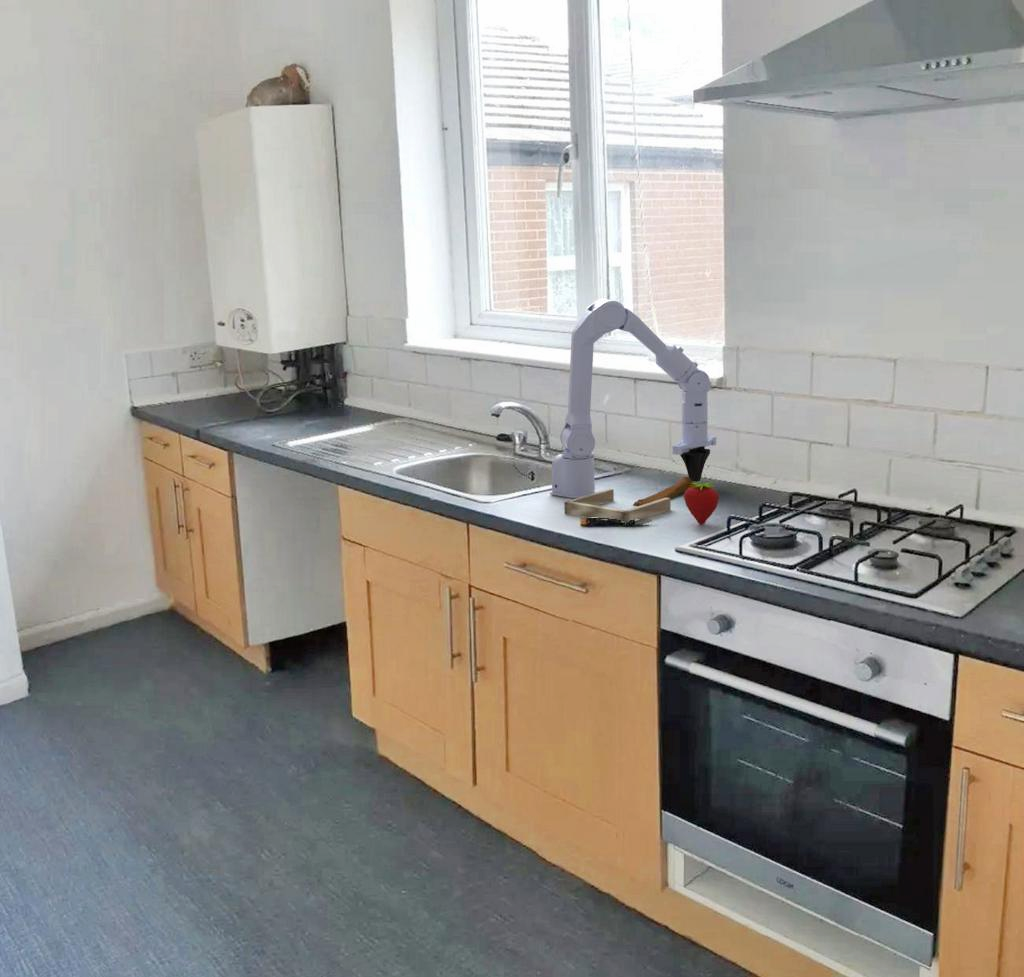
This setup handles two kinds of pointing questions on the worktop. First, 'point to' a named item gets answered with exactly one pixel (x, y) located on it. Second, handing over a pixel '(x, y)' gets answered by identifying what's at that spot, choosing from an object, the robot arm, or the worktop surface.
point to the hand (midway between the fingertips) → (694, 480)
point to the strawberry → (701, 500)
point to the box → (589, 508)
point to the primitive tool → (667, 492)
